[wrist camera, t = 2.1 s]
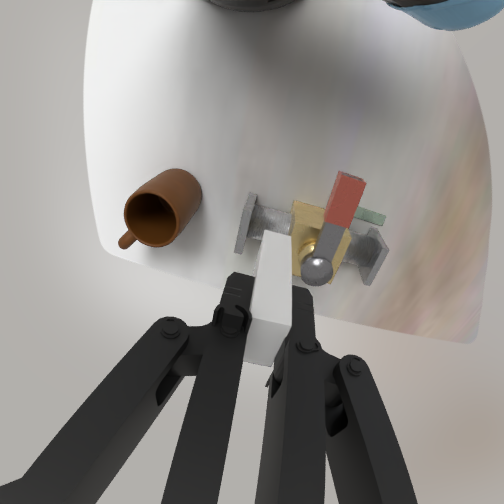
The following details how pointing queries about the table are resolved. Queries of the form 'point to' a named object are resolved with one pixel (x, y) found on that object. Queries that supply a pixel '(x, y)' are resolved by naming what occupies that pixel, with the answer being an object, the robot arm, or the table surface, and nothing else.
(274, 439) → the robot arm
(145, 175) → the table surface
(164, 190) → the mug
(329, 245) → the lever
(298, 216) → the valve pipe
